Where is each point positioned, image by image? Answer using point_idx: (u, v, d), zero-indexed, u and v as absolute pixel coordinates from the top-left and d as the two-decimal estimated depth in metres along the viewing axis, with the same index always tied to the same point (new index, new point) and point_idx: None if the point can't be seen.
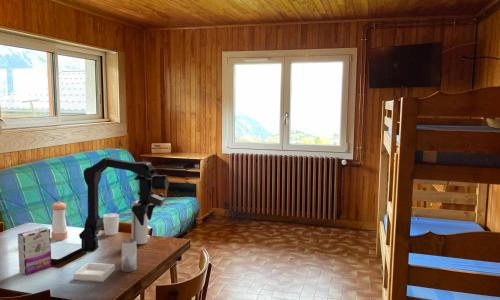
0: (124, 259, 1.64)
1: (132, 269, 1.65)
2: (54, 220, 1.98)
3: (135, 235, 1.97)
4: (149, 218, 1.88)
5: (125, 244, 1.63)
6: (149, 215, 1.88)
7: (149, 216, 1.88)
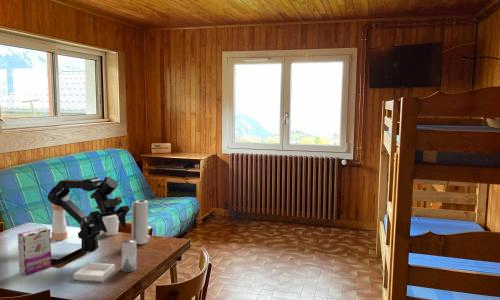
0: (124, 259, 1.64)
1: (132, 269, 1.65)
2: (54, 220, 1.98)
3: (135, 235, 1.97)
4: (124, 226, 1.79)
5: (125, 244, 1.63)
6: (123, 223, 1.80)
7: (123, 225, 1.80)
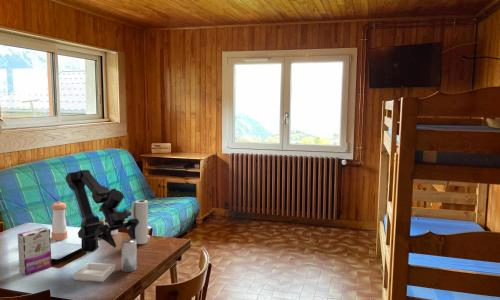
0: (124, 259, 1.64)
1: (132, 269, 1.65)
2: (54, 220, 1.98)
3: (135, 235, 1.97)
4: None
5: (125, 244, 1.63)
6: (132, 237, 1.72)
7: (132, 238, 1.72)
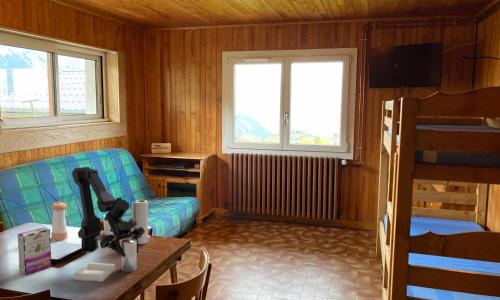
0: (124, 259, 1.64)
1: (132, 269, 1.65)
2: (54, 220, 1.98)
3: None
4: None
5: (125, 244, 1.63)
6: None
7: None
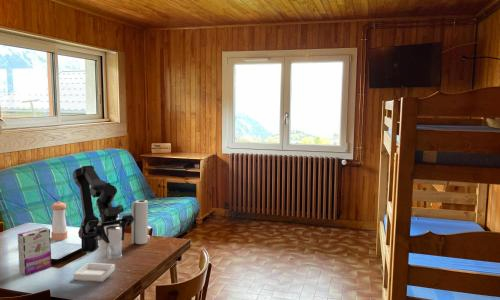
0: (108, 246, 1.60)
1: (116, 257, 1.60)
2: (54, 220, 1.98)
3: (135, 235, 1.97)
4: (122, 238, 1.63)
5: (109, 230, 1.59)
6: None
7: None
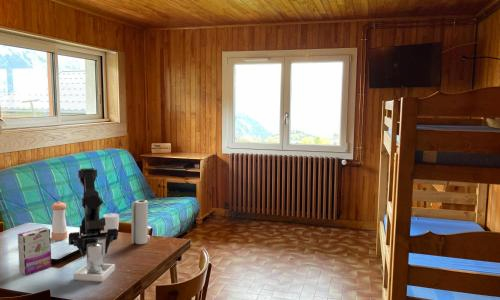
0: (87, 263, 1.57)
1: None
2: (54, 220, 1.98)
3: (135, 235, 1.97)
4: (105, 252, 1.60)
5: (88, 248, 1.56)
6: (105, 249, 1.61)
7: (105, 250, 1.61)
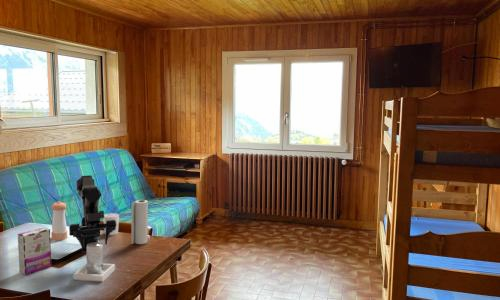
0: (87, 263, 1.58)
1: None
2: (54, 220, 1.98)
3: (135, 235, 1.97)
4: (105, 242, 1.70)
5: (88, 247, 1.56)
6: (105, 239, 1.70)
7: (105, 241, 1.70)
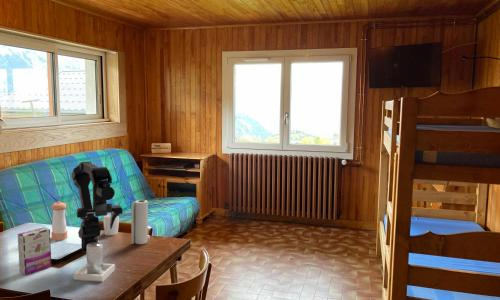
0: (87, 263, 1.58)
1: None
2: (54, 220, 1.98)
3: (135, 235, 1.97)
4: (110, 227, 1.78)
5: (88, 247, 1.56)
6: (110, 224, 1.78)
7: (110, 225, 1.78)
